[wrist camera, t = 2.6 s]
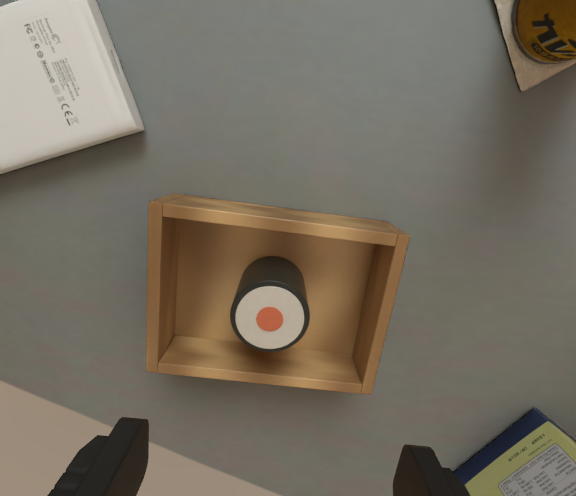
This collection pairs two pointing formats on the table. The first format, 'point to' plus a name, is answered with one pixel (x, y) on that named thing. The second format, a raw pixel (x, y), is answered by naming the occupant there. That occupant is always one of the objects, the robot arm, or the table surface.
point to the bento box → (227, 274)
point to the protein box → (524, 462)
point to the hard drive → (59, 82)
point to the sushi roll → (270, 305)
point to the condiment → (538, 37)
